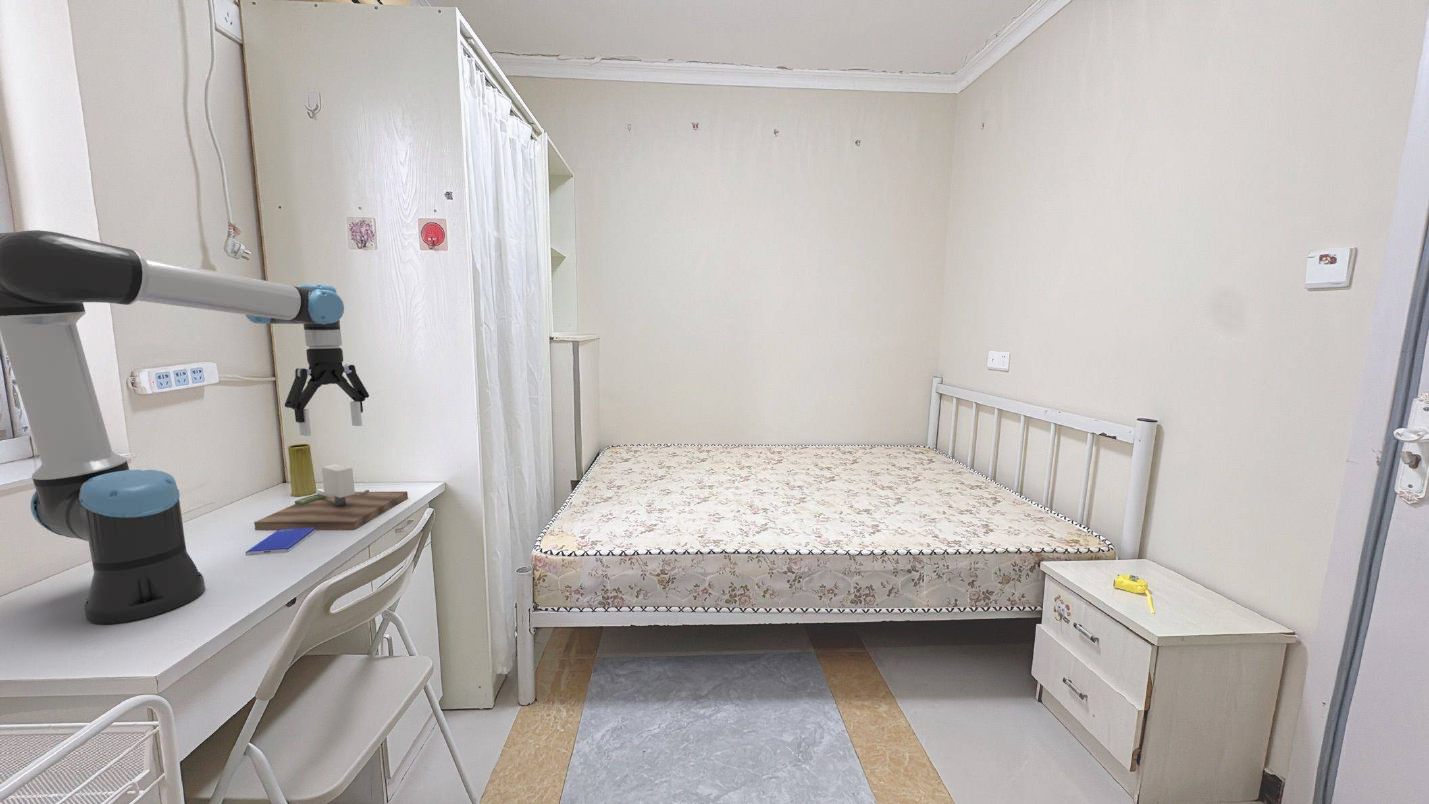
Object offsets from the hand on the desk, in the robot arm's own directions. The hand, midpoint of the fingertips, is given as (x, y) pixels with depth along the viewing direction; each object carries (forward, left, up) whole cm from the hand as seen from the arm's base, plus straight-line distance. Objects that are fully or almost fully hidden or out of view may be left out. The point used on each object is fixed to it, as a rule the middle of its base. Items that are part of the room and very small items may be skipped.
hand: (332, 430), depth 144 cm
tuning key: (+2, +3, -20) cm, 20 cm away
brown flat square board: (0, +1, -22) cm, 22 cm away
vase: (+17, +22, -22) cm, 36 cm away
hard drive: (-20, 0, -23) cm, 30 cm away
